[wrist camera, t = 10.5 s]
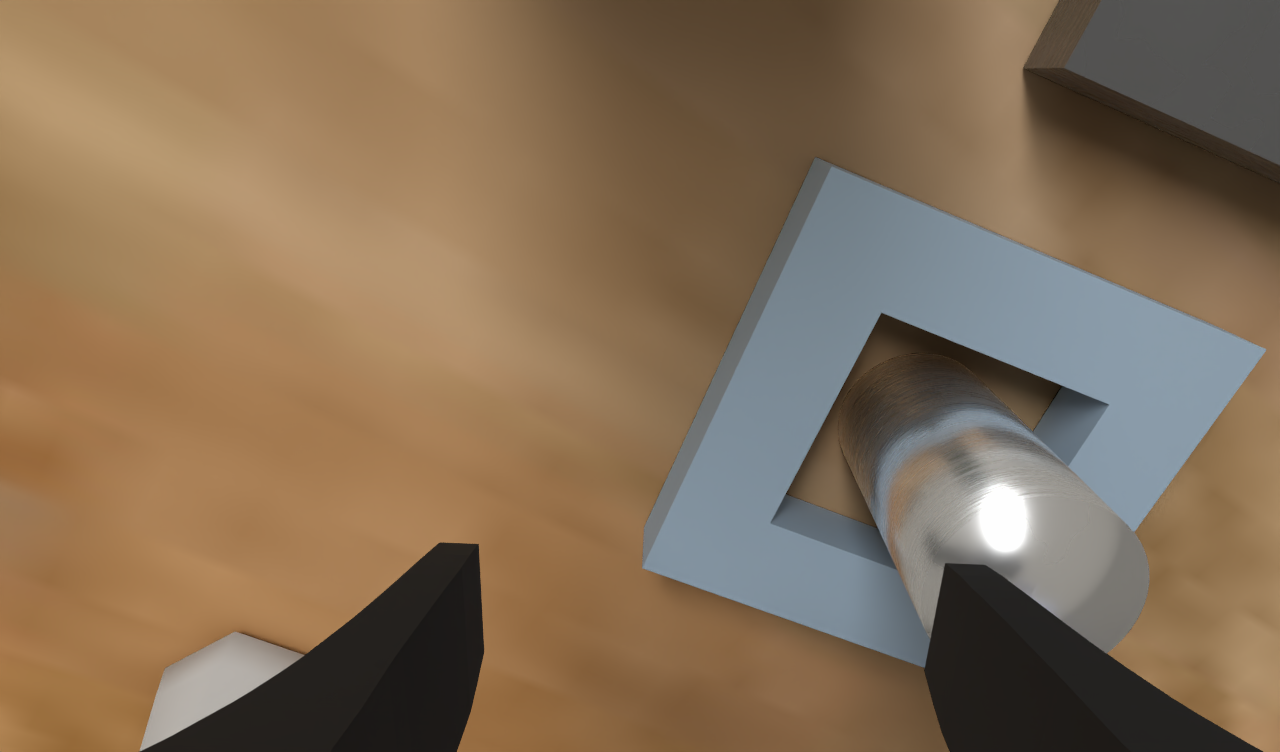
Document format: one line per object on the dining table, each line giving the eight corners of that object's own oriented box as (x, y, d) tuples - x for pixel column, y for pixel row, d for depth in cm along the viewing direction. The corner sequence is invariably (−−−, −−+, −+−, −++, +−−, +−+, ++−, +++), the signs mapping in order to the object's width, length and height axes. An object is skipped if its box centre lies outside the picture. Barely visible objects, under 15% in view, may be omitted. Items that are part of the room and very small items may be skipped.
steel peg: (1021, 395, 21) (1198, 557, 14) (932, 512, 22) (1054, 713, 15) (892, 327, 20) (1010, 459, 13) (809, 450, 22) (877, 630, 15)
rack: (1210, 323, 20) (1266, 349, 18) (985, 650, 24) (1012, 699, 22) (815, 157, 19) (831, 166, 17) (644, 527, 23) (642, 568, 21)
